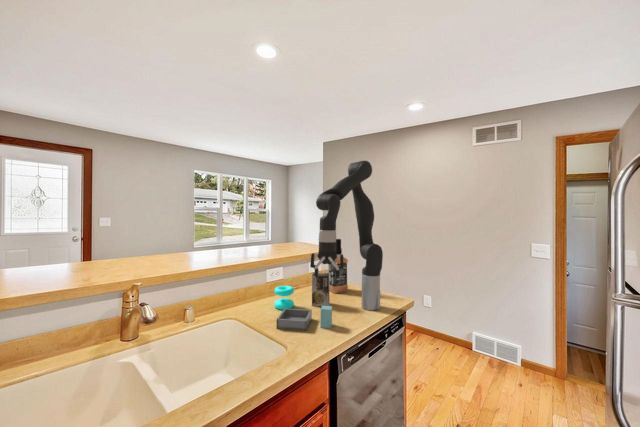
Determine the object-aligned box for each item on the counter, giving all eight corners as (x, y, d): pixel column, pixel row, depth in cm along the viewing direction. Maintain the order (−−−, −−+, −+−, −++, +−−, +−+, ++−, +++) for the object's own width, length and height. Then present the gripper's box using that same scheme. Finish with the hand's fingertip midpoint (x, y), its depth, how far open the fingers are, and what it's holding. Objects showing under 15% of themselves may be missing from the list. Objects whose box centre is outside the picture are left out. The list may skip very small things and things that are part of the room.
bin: (311, 318, 128) (311, 310, 128) (306, 331, 115) (306, 321, 115) (284, 316, 129) (284, 308, 129) (276, 328, 117) (276, 319, 117)
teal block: (331, 324, 122) (332, 306, 122) (330, 328, 118) (331, 309, 118) (321, 323, 123) (322, 305, 123) (320, 327, 118) (320, 309, 118)
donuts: (279, 291, 135) (271, 286, 144) (279, 312, 136) (271, 305, 144) (297, 288, 141) (288, 283, 149) (297, 308, 141) (288, 302, 149)
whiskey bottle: (333, 293, 165) (334, 240, 164) (326, 289, 174) (327, 238, 173) (348, 291, 169) (349, 239, 169) (341, 287, 178) (341, 237, 178)
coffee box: (329, 302, 150) (330, 272, 149) (328, 306, 143) (329, 275, 143) (312, 301, 151) (313, 272, 150) (311, 306, 144) (311, 275, 144)
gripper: (344, 240, 122) (343, 276, 123) (312, 239, 124) (312, 275, 125) (343, 242, 115) (342, 281, 115) (309, 240, 117) (309, 279, 117)
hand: (326, 277), depth 120 cm, fingers open, 8 cm apart
